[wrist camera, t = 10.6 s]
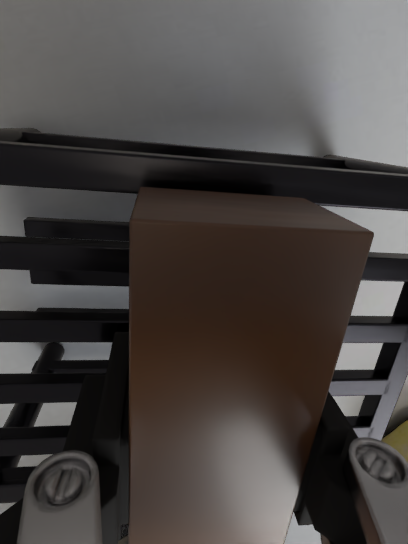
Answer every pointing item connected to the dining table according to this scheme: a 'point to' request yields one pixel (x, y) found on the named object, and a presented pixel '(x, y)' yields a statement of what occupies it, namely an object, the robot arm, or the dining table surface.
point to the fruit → (399, 439)
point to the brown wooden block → (230, 357)
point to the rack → (115, 265)
